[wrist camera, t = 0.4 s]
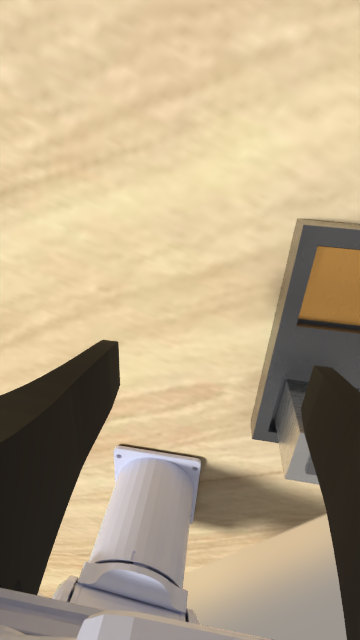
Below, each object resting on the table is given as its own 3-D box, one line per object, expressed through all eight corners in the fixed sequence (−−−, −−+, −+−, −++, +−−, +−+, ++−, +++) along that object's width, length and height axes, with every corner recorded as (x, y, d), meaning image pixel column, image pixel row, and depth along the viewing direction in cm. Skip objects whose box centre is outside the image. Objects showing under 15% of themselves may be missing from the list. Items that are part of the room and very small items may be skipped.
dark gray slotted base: (339, 434, 25) (347, 453, 24) (250, 421, 26) (252, 439, 24) (425, 229, 18) (445, 237, 16) (297, 218, 18) (303, 224, 17)
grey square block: (329, 427, 24) (352, 492, 19) (274, 419, 24) (285, 481, 20) (345, 385, 22) (376, 446, 17) (286, 377, 22) (301, 435, 18)
